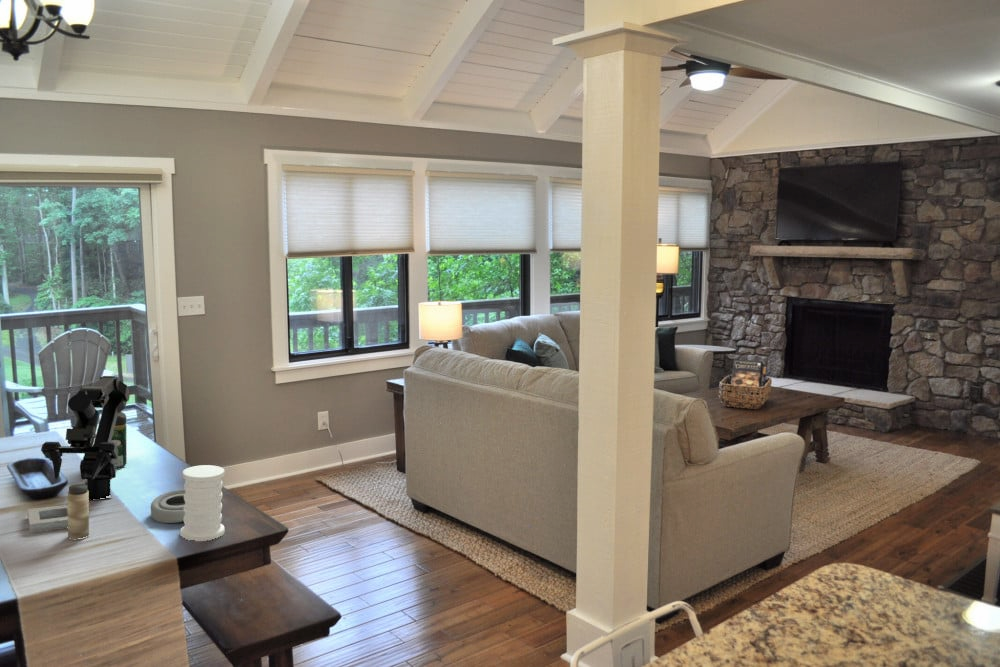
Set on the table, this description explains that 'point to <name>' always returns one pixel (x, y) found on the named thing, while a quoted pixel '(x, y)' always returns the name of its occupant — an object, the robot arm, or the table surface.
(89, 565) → the table surface
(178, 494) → the turbocharger housing
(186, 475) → the decorative container
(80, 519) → the tan bottle
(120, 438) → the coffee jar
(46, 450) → the robot arm
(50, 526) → the housing plate
